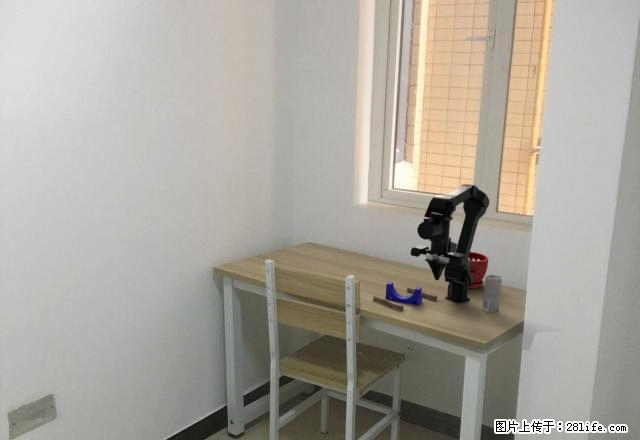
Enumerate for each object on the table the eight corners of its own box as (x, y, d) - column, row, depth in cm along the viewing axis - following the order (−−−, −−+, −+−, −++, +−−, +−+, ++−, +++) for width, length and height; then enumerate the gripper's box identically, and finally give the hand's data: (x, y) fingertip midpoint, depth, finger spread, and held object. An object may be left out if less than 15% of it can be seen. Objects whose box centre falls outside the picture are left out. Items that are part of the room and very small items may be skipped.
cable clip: (421, 302, 210) (423, 286, 209) (418, 306, 206) (419, 289, 205) (389, 296, 215) (390, 280, 214) (385, 300, 211) (386, 283, 210)
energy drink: (495, 308, 205) (498, 274, 203) (501, 313, 200) (504, 279, 198) (480, 308, 205) (483, 274, 203) (485, 313, 200) (488, 279, 197)
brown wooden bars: (436, 299, 212) (437, 295, 212) (400, 310, 200) (400, 306, 200) (409, 290, 222) (410, 286, 222) (373, 300, 210) (373, 296, 210)
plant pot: (447, 287, 227) (449, 256, 224) (455, 278, 238) (457, 249, 236) (482, 292, 221) (484, 261, 219) (488, 283, 233) (491, 253, 230)
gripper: (477, 235, 196) (473, 280, 199) (427, 226, 207) (424, 269, 211) (461, 241, 187) (458, 288, 190) (410, 231, 199) (408, 276, 202)
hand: (437, 279), depth 199 cm, fingers closed
